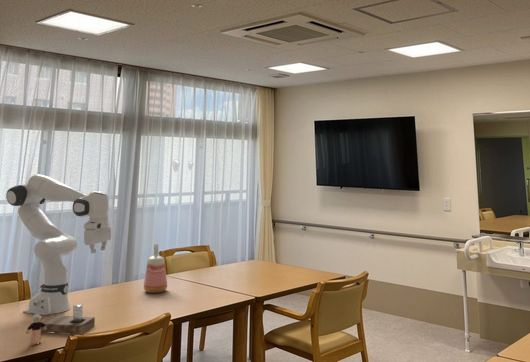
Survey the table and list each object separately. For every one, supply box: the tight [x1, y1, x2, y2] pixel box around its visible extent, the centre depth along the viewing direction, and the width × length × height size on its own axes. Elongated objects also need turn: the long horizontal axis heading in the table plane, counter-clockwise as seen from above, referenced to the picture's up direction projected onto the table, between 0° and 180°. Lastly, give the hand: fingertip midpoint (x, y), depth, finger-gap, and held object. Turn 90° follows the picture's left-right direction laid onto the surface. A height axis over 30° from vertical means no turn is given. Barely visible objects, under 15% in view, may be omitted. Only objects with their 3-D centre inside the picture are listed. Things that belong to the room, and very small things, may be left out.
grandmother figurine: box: [25, 314, 47, 346], centre depth 177 cm, size 8×4×13 cm, turn 138°
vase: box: [143, 243, 168, 294], centre depth 264 cm, size 14×14×30 cm
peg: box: [72, 303, 83, 323], centre depth 195 cm, size 4×4×10 cm
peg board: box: [40, 314, 96, 335], centre depth 195 cm, size 20×12×4 cm, turn 84°
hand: (98, 251), depth 208 cm, fingers open, 8 cm apart
